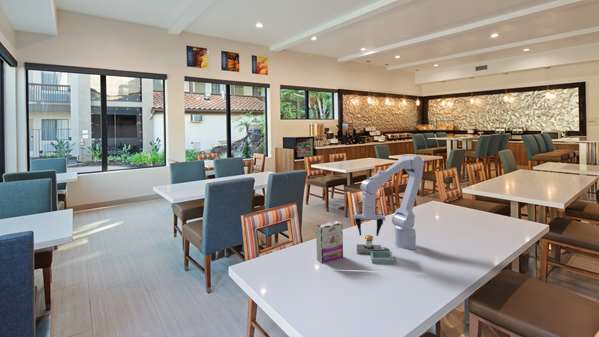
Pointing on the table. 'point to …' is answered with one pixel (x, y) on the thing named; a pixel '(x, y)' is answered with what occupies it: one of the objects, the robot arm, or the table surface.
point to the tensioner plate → (362, 249)
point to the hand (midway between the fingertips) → (368, 235)
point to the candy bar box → (329, 241)
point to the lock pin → (368, 241)
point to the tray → (382, 261)
